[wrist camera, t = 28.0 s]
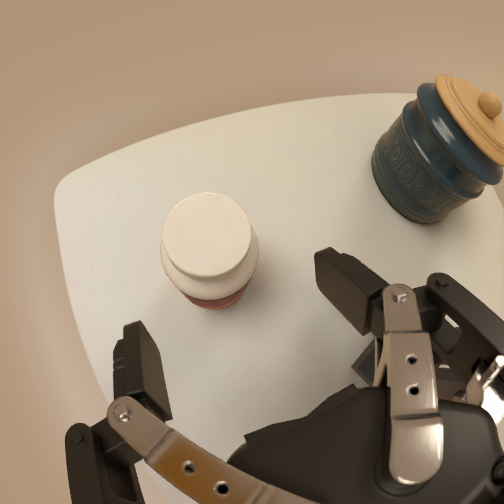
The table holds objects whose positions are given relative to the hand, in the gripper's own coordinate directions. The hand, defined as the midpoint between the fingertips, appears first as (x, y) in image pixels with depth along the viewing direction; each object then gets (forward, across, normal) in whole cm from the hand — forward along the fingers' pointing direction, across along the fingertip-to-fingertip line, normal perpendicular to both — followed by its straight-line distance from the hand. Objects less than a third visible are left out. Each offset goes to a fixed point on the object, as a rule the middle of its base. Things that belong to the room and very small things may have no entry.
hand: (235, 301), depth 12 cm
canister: (+14, +27, -5) cm, 31 cm away
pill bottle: (+12, 0, -6) cm, 13 cm away
